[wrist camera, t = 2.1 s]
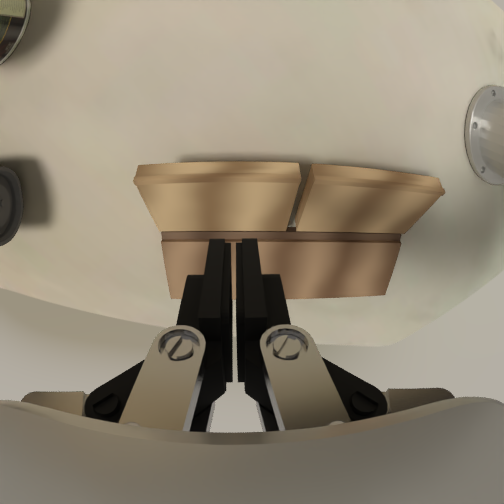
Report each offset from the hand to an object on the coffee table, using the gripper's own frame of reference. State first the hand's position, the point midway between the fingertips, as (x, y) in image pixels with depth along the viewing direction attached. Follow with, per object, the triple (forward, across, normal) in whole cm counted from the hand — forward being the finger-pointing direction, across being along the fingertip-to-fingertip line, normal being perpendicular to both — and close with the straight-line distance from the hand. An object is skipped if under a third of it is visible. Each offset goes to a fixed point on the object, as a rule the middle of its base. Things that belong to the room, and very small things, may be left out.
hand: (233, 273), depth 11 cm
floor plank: (+17, -5, +11) cm, 21 cm away
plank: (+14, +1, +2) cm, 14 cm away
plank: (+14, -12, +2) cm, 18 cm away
